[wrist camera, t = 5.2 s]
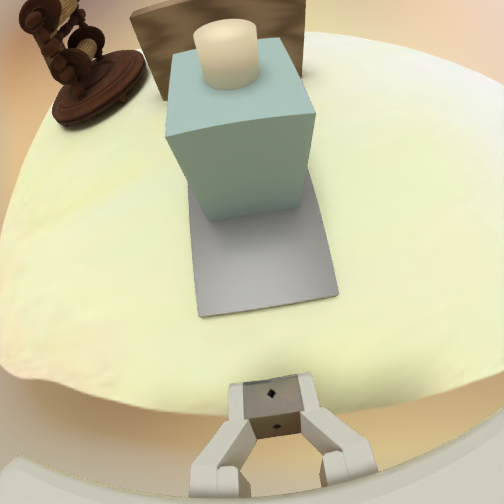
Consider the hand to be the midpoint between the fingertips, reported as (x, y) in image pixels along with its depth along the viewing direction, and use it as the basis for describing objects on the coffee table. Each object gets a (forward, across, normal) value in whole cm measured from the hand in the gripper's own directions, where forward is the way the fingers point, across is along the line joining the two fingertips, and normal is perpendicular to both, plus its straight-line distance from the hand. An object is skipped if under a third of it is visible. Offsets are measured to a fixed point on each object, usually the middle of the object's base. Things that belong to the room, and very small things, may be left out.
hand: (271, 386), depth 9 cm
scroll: (+31, -18, +18) cm, 40 cm away
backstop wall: (+27, 0, +14) cm, 30 cm away
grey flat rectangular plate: (+18, 0, +5) cm, 19 cm away
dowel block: (+17, 0, +5) cm, 17 cm away
